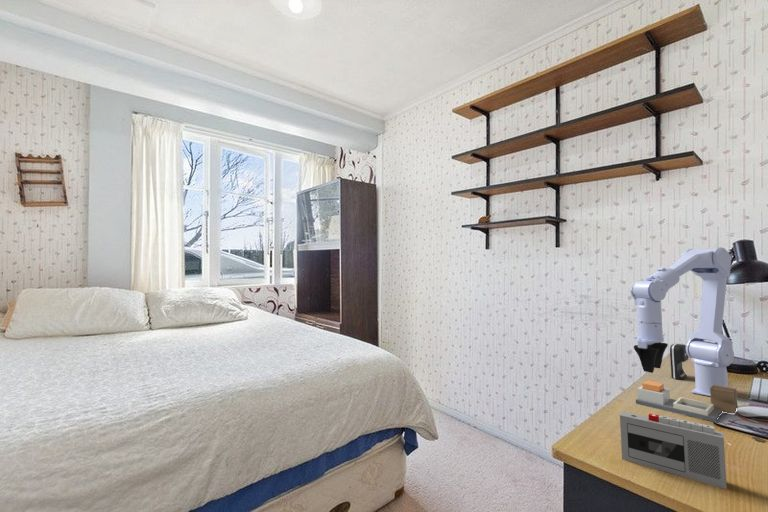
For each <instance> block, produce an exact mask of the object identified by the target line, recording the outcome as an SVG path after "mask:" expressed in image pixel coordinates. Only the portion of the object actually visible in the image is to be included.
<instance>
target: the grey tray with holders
mask: <svg viewBox="0 0 768 512" xmlns="http://www.w3.org/2000/svg"><path fill="white" fill-rule="evenodd" d="M636 392H637V398H636V399H635V403H636V404H637V405H641V406H642V405H643V406H646V407H651V408H654V409H658V410H663V411H667V412H671V413H676V414H679V415H684V416H687V417H691V418H695V419H696V418H697V419H699V420H704V421H709V422H713V423H716V422H717V421H718V420H717V418H718V417H719V415H720V414H721V413H722V410H721V409H716V408H714V404H711V402H705V401H700V400H696V399H692V398H686V397H682V396H680V397H678V398H677V399H673V398H671V396H670V388H666V387H664V390H663V391H662V392H661V393H660V392H655V391H650V390H645V389H643V388H642V385H640V386H639V387H637V391H636ZM722 414H723V413H722ZM719 418H720V417H719ZM719 418H718V419H719ZM716 420H717V421H716ZM715 421H716V422H715Z"/></svg>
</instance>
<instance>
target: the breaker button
mask: <svg viewBox="0 0 768 512" xmlns="http://www.w3.org/2000/svg"><path fill="white" fill-rule="evenodd" d="M641 386H642V388H643V389H645V390H650V391H655V392H660V393H661V392H662V391H663V390H664V388H665V385H664V383H662V382H658V381H652V380H648V379H647V380H645V381H643V382H642V385H641Z"/></svg>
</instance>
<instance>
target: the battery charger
mask: <svg viewBox="0 0 768 512" xmlns="http://www.w3.org/2000/svg"><path fill="white" fill-rule="evenodd" d="M669 356H670V357H669V359H670V377H671V378H672V379H675V380H684V379H686V378H687V377H688V374H687V373H686V372H685V371H684V368H683V363H685V362H686V361H688V360H689V358H690V357H689V356H688V355H687V353H686V345H685V344H681V343H671V345H670V347H669Z"/></svg>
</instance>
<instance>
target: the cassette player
mask: <svg viewBox="0 0 768 512" xmlns="http://www.w3.org/2000/svg"><path fill="white" fill-rule="evenodd" d="M619 421H620V423H619V426H620V441H621V443H620V444H621V446H620V447H621V459H622V460H624V459H625V460H624V461H627V460H628V462H630V461H631V462H632V463H634V464H638V465H642V466H645V467H648V468H651V469H656V470H658V471H659V470H660V471H662V472H666V473H670V474H673V475H675V476H680V477H683V478H687V479H691V480H693V481H697V482H701V483H704V484H707V485H709V486H710V485H711V486H715V487H718V488H721V489H725V490H727V489H728V486H727V472H726V469H727V468H726V453H725V439H724V438H725V437H724V435H725V434H724V432H722V431H717V430H715V426H713V425H707V424H703V423H698V422H694V421H693V422H692V421H689V420H683V419H679V418H674V417H670V416H663V415H659V414H654V413H648V416H647V415H642V414H636V413H632V412H627V411H623V410H622V411H621V413H620V414H619Z"/></svg>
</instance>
